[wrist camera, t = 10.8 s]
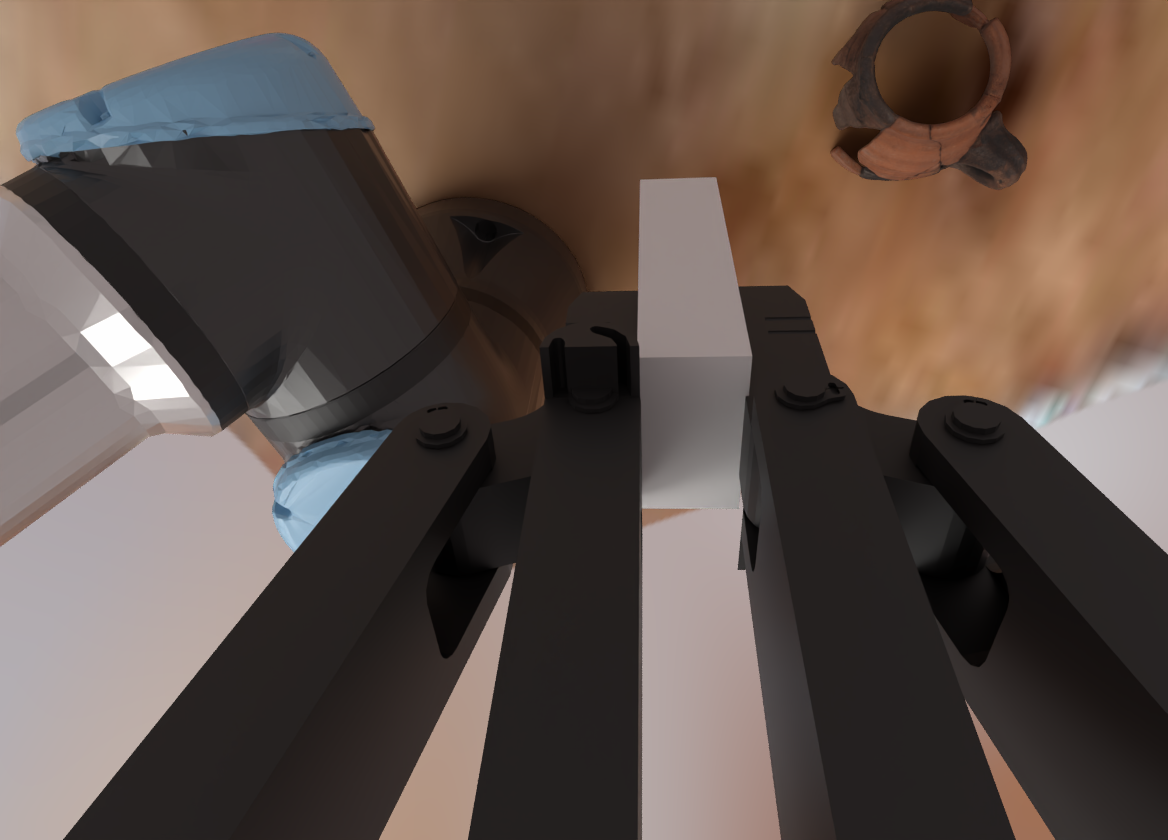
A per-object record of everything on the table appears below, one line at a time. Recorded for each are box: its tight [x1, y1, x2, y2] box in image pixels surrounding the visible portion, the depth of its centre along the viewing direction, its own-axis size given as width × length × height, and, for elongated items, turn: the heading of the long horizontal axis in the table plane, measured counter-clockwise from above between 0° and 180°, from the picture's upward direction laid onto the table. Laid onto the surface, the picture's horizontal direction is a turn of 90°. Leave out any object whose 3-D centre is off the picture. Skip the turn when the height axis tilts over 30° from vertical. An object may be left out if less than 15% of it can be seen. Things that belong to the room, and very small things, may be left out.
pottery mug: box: [831, 0, 1027, 190], centre depth 42 cm, size 12×10×8 cm
